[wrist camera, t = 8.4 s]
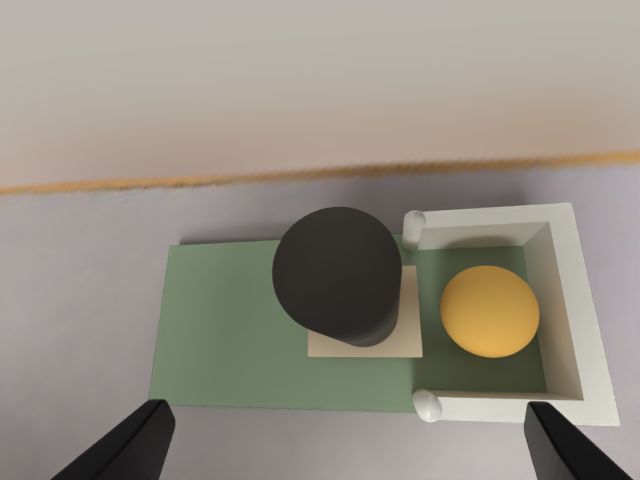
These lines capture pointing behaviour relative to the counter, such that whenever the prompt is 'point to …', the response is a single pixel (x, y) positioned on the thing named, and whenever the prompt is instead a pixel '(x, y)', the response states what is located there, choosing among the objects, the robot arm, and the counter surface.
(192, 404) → the board
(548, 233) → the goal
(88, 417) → the counter surface
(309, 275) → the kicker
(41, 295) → the counter surface
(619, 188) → the counter surface
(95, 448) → the robot arm
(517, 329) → the ball
